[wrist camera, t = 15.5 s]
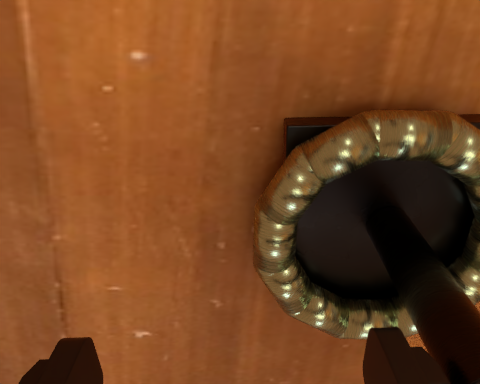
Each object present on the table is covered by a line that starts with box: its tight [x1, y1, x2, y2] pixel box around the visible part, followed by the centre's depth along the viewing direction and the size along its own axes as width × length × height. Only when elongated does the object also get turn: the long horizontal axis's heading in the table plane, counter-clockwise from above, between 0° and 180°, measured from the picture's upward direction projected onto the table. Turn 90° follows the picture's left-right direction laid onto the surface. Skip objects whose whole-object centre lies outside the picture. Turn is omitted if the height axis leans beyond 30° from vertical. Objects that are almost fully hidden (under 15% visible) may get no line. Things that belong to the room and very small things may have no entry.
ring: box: [253, 110, 480, 339], centre depth 15 cm, size 11×11×2 cm
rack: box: [283, 114, 480, 384], centre depth 13 cm, size 9×9×9 cm
